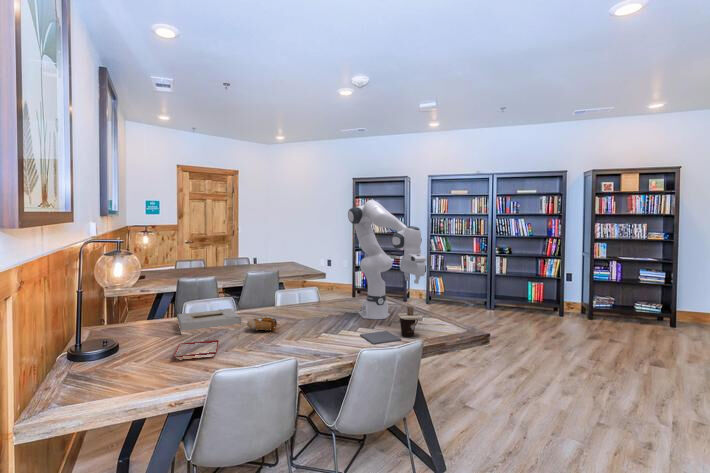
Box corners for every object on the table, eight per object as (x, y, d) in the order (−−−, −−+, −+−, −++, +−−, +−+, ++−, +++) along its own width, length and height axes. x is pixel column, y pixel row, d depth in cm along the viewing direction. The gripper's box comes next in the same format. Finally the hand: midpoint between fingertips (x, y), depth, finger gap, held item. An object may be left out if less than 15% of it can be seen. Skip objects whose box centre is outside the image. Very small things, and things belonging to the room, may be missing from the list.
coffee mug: (403, 338, 202) (403, 319, 202) (397, 333, 211) (397, 315, 210) (423, 336, 205) (423, 317, 205) (416, 332, 214) (417, 314, 213)
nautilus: (288, 332, 214) (266, 340, 203) (265, 323, 228) (242, 330, 217) (288, 319, 213) (266, 326, 202) (264, 310, 227) (242, 316, 216)
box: (180, 337, 207) (241, 328, 223) (180, 322, 207) (241, 314, 222) (176, 327, 227) (232, 319, 243) (176, 313, 227) (232, 307, 243)
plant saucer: (173, 363, 169) (172, 355, 169) (179, 349, 186) (178, 343, 186) (217, 359, 174) (217, 351, 174) (219, 346, 191) (219, 339, 191)
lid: (393, 315, 211) (393, 306, 211) (413, 312, 216) (413, 303, 216) (406, 320, 199) (406, 311, 199) (427, 318, 205) (427, 308, 204)
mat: (359, 335, 207) (359, 334, 207) (386, 332, 214) (386, 330, 214) (373, 344, 193) (373, 343, 193) (401, 340, 199) (401, 339, 199)
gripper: (397, 254, 218) (397, 279, 219) (417, 258, 199) (416, 285, 200) (407, 254, 221) (406, 278, 221) (427, 258, 202) (427, 285, 203)
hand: (411, 282), depth 211 cm, fingers open, 8 cm apart
